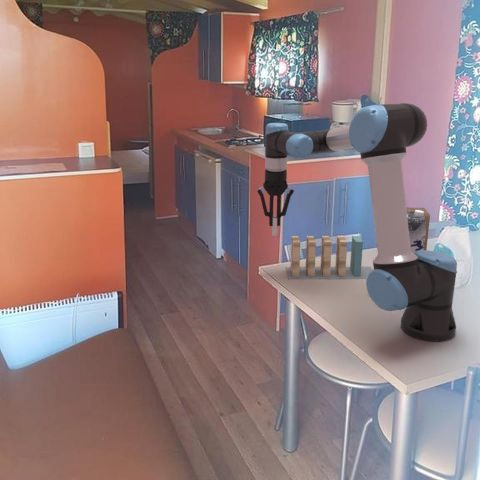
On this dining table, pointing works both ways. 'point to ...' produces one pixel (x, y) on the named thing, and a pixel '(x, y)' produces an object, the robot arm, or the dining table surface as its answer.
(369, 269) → the mat
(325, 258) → the tile
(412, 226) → the juice carton
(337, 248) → the tile
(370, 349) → the dining table surface
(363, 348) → the dining table surface
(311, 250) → the tile
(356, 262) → the end tile
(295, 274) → the tile
